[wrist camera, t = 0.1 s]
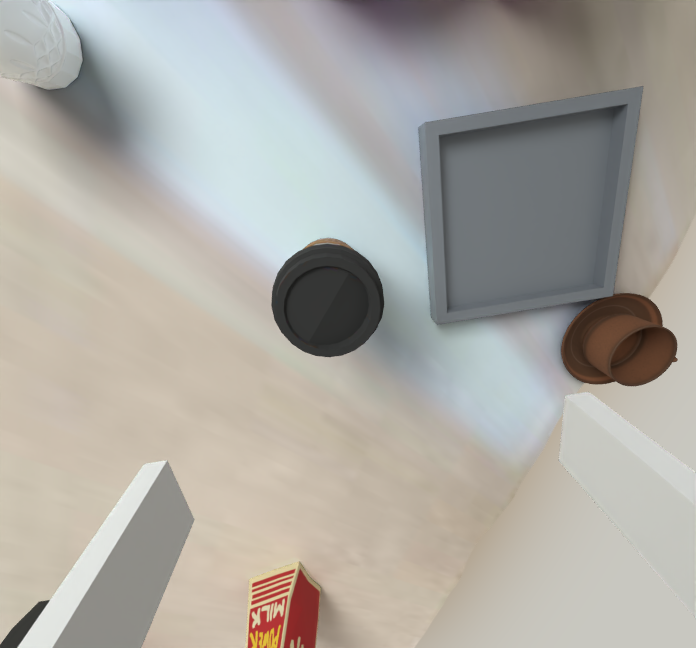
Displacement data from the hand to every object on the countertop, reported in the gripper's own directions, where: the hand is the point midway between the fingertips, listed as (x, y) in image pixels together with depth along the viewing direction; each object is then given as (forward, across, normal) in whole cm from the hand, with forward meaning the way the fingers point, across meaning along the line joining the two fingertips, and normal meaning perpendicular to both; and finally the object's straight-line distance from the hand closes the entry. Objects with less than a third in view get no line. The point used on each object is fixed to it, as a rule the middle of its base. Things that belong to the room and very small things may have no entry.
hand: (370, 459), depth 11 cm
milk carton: (+28, -17, -51) cm, 61 cm away
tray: (+28, +20, +3) cm, 34 cm away
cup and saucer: (+28, +31, -13) cm, 44 cm away
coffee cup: (+28, -1, +1) cm, 28 cm away
